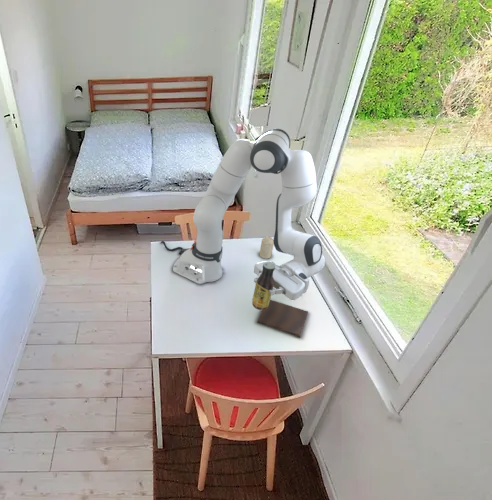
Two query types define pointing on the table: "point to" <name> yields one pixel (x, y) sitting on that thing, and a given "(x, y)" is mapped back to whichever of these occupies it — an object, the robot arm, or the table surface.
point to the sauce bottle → (263, 287)
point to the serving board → (283, 318)
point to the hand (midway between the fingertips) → (262, 286)
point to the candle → (266, 247)
